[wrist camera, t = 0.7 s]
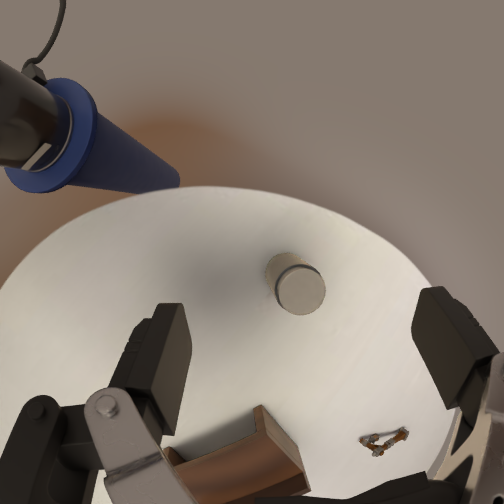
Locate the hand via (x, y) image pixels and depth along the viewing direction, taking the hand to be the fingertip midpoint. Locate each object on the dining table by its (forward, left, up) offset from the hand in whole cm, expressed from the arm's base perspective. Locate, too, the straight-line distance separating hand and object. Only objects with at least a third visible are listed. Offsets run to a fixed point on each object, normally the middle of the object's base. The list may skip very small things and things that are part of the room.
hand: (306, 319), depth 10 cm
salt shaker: (+5, +1, -23) cm, 24 cm away
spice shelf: (+23, -18, -23) cm, 37 cm away
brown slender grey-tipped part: (+36, +1, -23) cm, 43 cm away
